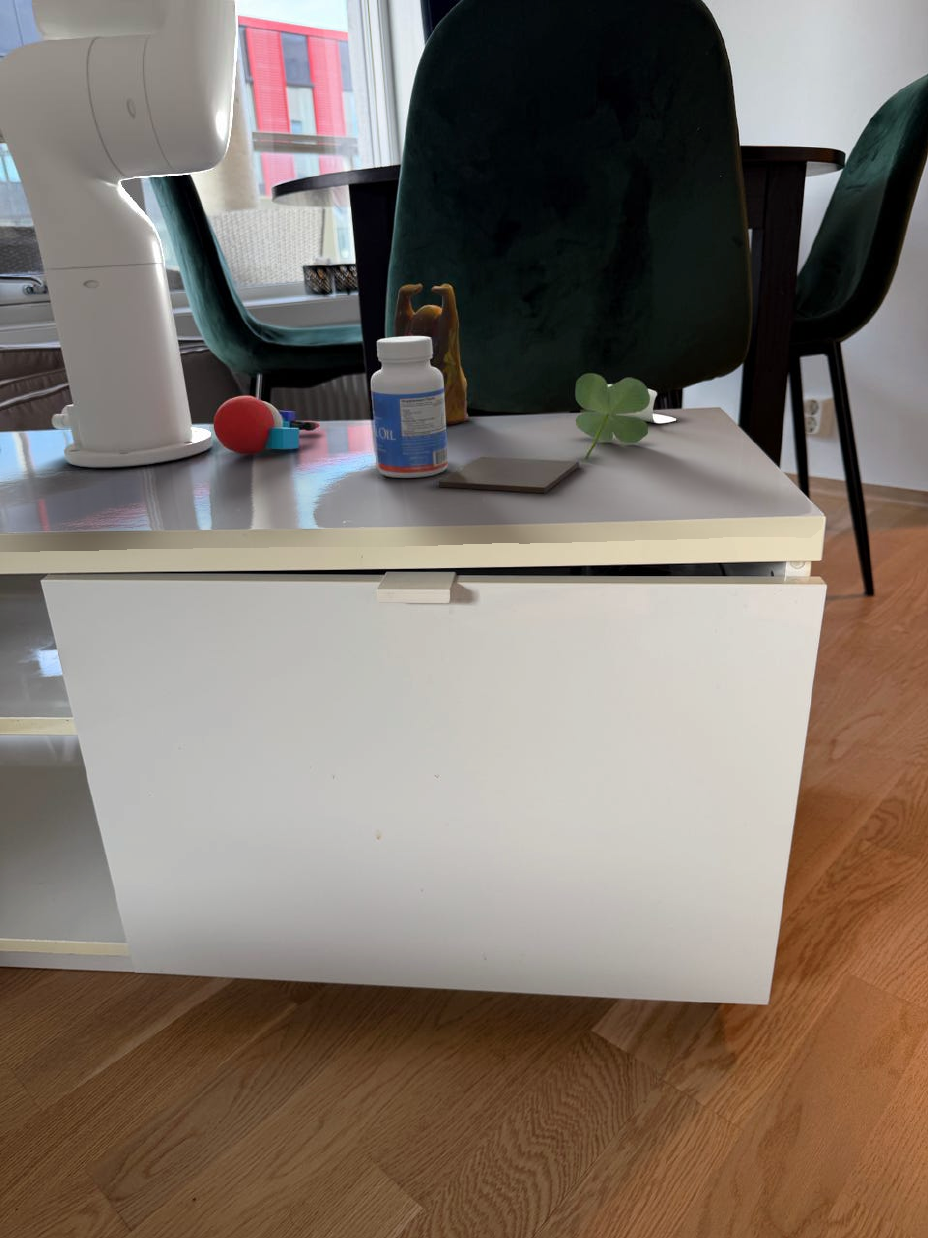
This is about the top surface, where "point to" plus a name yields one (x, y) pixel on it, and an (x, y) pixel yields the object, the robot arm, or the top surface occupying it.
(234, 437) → the toy figure
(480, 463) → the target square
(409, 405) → the pill bottle
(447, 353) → the figurine
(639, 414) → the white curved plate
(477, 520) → the top surface
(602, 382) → the green leafy piece
